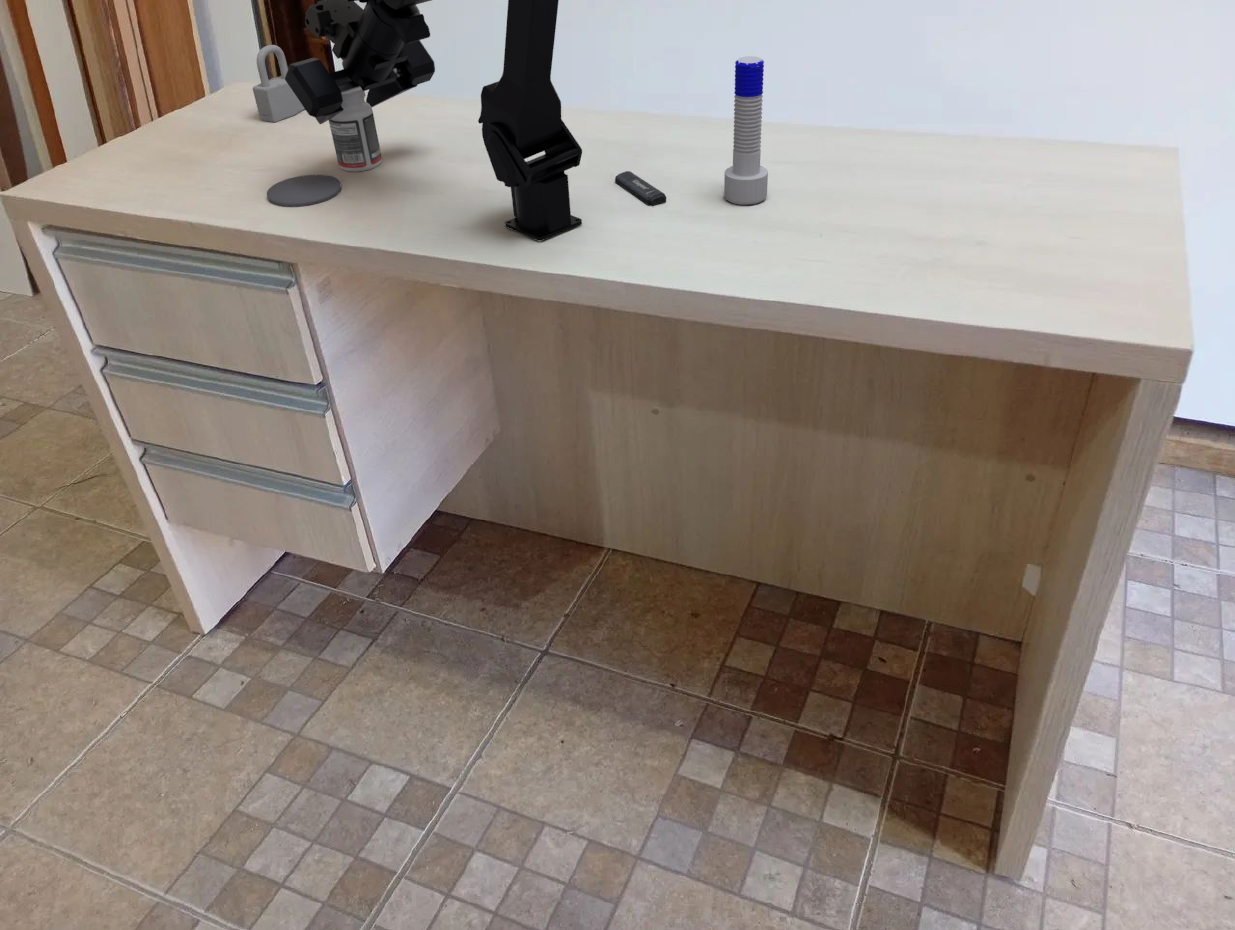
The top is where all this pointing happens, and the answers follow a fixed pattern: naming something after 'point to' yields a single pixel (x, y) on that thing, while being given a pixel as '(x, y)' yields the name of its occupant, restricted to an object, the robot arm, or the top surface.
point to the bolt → (747, 136)
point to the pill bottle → (355, 133)
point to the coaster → (304, 190)
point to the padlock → (274, 90)
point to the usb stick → (640, 188)
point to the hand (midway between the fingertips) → (344, 112)
